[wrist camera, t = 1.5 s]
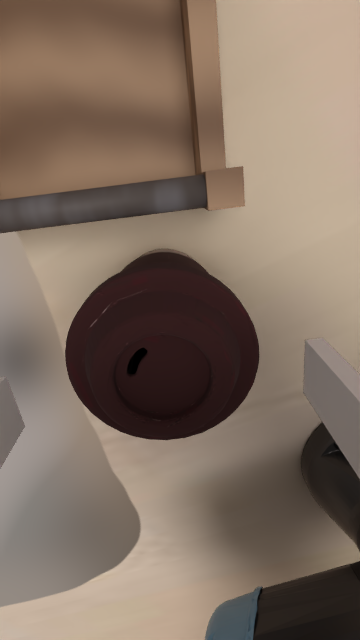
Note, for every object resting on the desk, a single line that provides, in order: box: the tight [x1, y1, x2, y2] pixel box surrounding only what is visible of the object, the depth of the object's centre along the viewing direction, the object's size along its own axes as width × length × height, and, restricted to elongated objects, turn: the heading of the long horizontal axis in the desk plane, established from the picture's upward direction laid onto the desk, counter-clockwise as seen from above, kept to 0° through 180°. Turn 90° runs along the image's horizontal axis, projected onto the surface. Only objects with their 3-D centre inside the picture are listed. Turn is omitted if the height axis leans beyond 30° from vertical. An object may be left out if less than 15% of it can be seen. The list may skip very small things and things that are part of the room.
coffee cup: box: [65, 249, 259, 440], centre depth 22 cm, size 10×10×15 cm
